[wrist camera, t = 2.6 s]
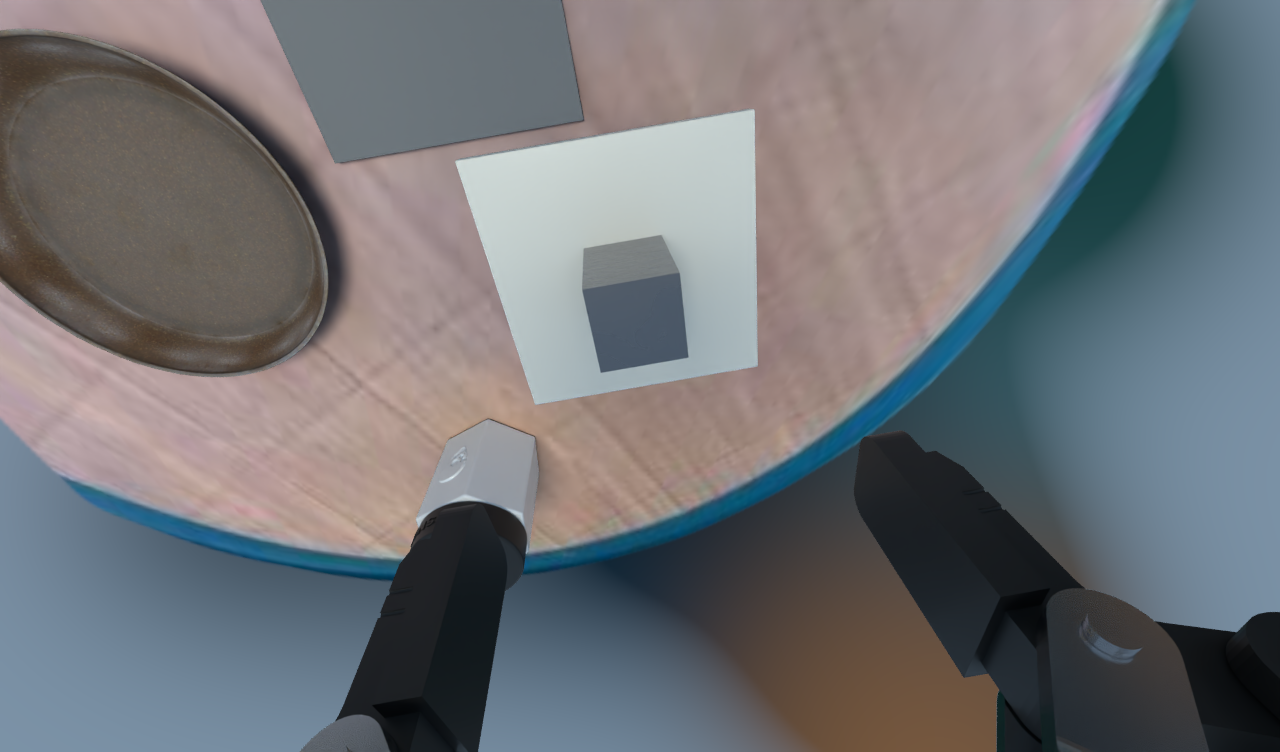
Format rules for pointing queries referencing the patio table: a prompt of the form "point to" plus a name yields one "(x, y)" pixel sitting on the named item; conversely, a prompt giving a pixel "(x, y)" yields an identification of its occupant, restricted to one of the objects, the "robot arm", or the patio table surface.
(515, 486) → the jar
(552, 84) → the mat
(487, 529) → the robot arm
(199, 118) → the plant saucer
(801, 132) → the patio table surface
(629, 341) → the lid
